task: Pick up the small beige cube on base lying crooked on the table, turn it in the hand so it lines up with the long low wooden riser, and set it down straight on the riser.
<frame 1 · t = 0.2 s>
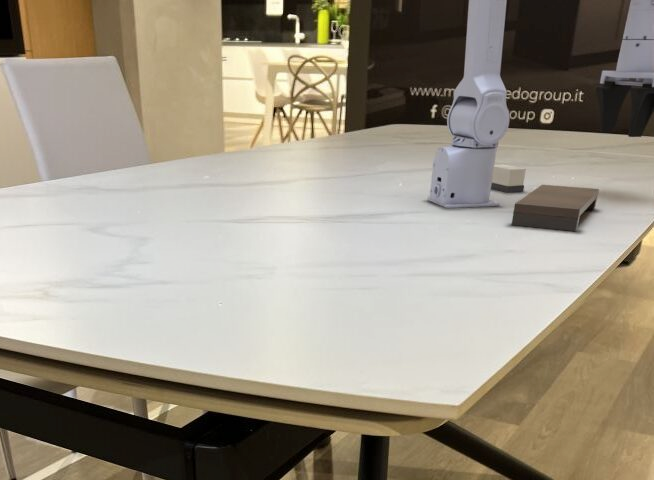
hand: (620, 134, 125), 10 cm above the table, tool pointing down, fingers open, 7 cm apart
low wooden riser: (555, 216, 114), on the table
beige cube on base: (501, 188, 137), on the table
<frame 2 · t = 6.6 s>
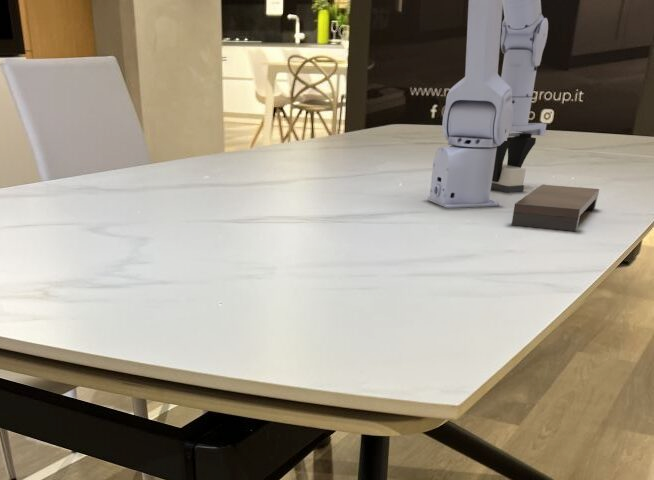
hand: (502, 180, 136), 1 cm above the table, tool pointing down, fingers closed on beige cube on base, 3 cm apart
beige cube on base: (501, 188, 137), on the table, touching gripper
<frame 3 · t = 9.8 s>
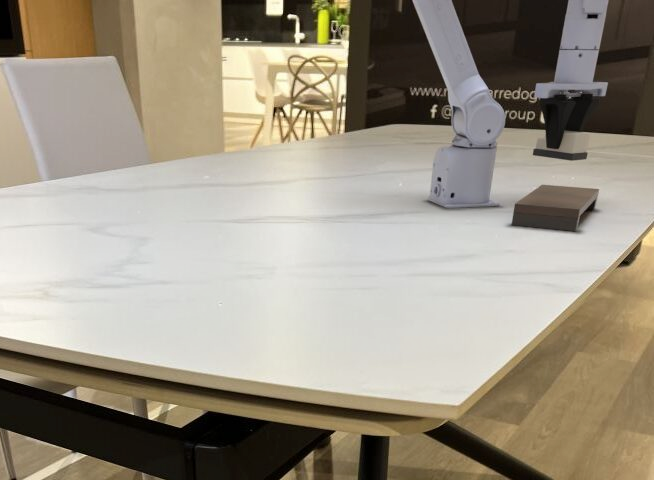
hand: (560, 147, 120), 8 cm above the table, tool pointing down, fingers closed on beige cube on base, 3 cm apart
beige cube on base: (559, 157, 121), point 7 cm above the table, touching gripper
when the fingers open (4 cm above the table, at t = 13.1 s): beige cube on base stays where it is, resting on low wooden riser.
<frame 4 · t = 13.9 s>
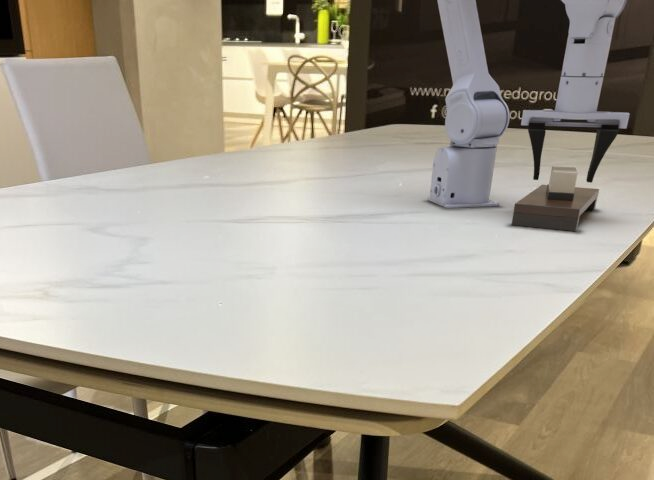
hand: (562, 180, 112), 5 cm above the table, tool pointing down, fingers open, 7 cm apart
beige cube on base: (559, 195, 113), point 3 cm above the table, touching low wooden riser
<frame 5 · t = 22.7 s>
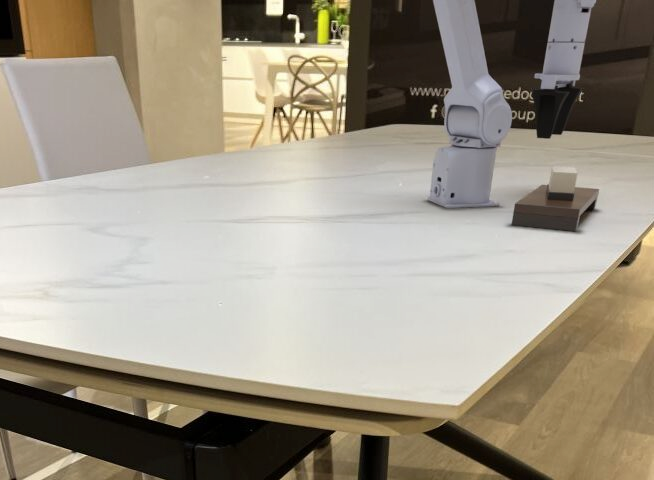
hand: (549, 136, 126), 9 cm above the table, tool pointing down, fingers open, 7 cm apart
nothing on the table moved.
at the end: beige cube on base inside the target area on the low wooden riser (0.0 cm from its centre), point 3.0 cm above the low wooden riser's base; beige cube on base tilted 0°; the gripper is holding nothing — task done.
